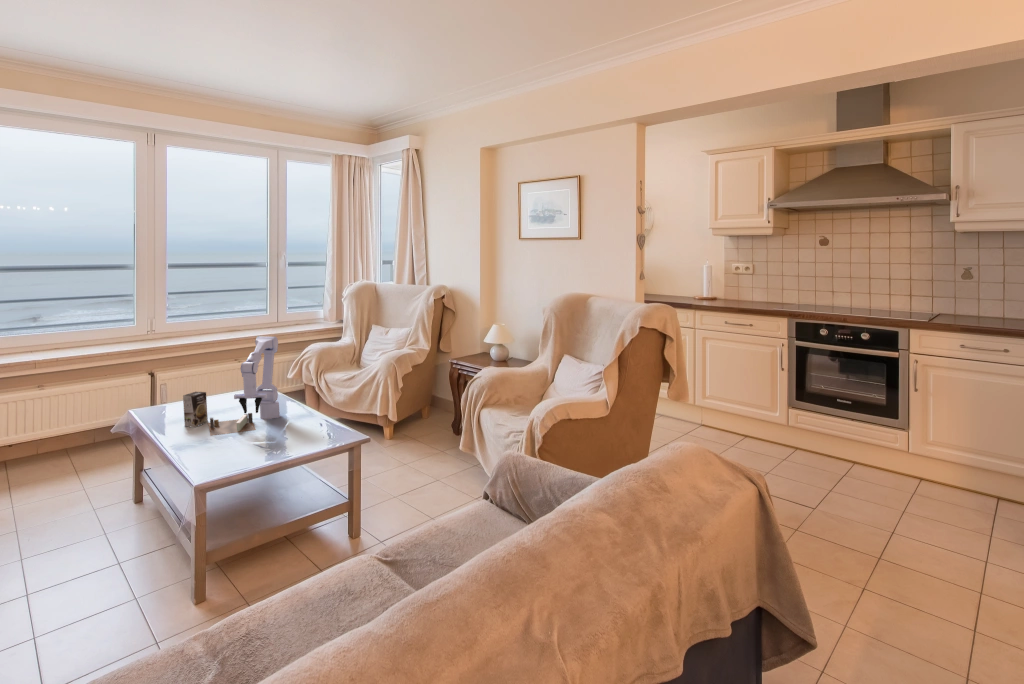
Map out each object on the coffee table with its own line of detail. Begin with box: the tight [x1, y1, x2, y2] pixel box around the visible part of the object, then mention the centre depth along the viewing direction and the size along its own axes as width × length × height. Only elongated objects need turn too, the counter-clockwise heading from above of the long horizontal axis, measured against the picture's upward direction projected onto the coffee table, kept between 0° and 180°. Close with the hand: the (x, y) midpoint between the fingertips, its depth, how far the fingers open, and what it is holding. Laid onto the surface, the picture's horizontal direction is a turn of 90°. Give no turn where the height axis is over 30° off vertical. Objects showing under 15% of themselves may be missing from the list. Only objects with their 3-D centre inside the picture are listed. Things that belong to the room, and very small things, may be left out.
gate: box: [236, 413, 248, 431], centre depth 280 cm, size 15×2×4 cm, turn 11°
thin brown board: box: [207, 412, 257, 437], centre depth 280 cm, size 20×22×6 cm
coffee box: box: [182, 391, 209, 428], centre depth 283 cm, size 9×6×16 cm
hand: (251, 412), depth 276 cm, fingers open, 5 cm apart
